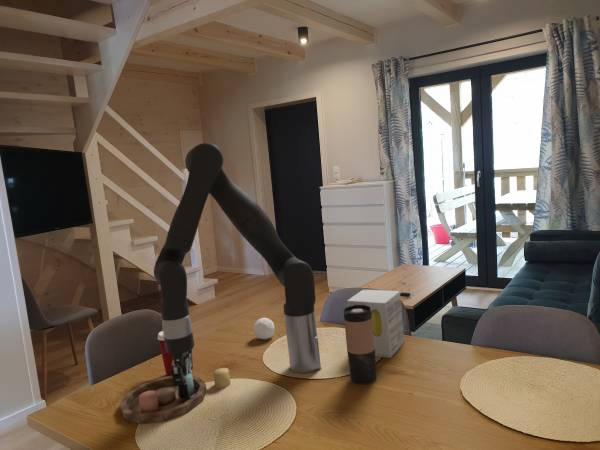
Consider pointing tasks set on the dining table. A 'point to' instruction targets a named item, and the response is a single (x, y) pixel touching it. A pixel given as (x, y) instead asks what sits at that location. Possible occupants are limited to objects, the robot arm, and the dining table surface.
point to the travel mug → (360, 344)
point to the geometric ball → (264, 328)
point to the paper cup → (165, 355)
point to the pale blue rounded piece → (189, 385)
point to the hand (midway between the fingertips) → (186, 392)
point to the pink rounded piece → (148, 402)
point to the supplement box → (383, 319)
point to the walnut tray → (164, 410)
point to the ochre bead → (221, 377)
